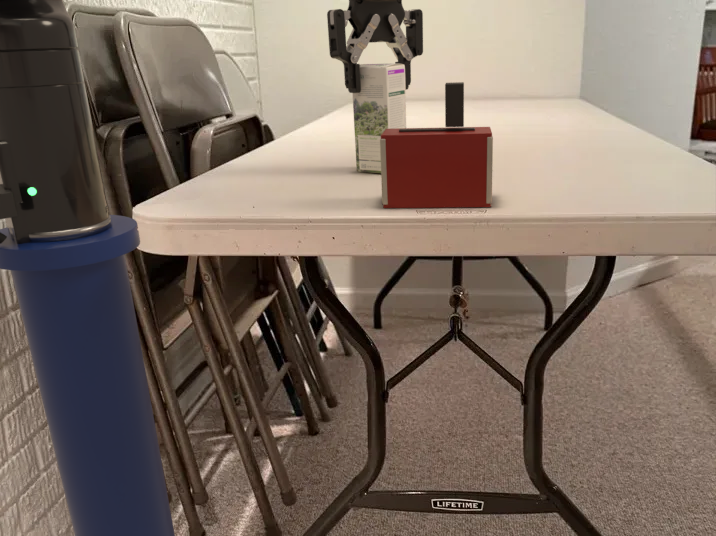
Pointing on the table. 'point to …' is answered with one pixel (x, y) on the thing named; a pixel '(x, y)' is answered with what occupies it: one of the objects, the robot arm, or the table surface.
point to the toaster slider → (454, 104)
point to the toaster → (436, 167)
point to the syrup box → (377, 111)
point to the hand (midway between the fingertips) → (379, 90)
